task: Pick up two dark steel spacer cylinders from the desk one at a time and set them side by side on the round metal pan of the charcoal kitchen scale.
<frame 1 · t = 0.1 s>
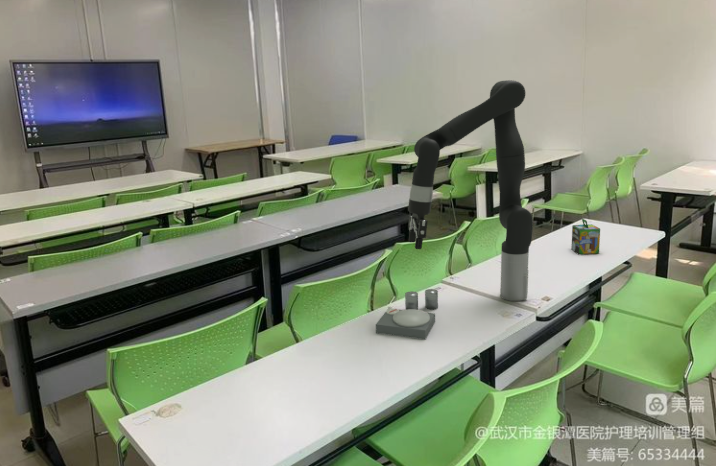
hand: (414, 245, 181), 22 cm above the table, tool pointing down, fingers open, 8 cm apart
spacer b: (431, 307, 185), on the table
colorful box with handle: (584, 251, 237), on the table
scale: (406, 327, 170), on the table
spacer a: (411, 309, 183), on the table
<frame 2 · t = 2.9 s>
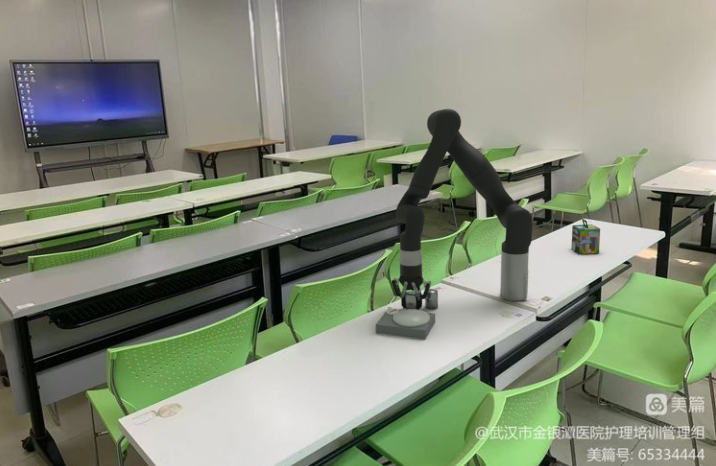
hand: (411, 308, 183), 1 cm above the table, tool pointing down, fingers closed on spacer a, 4 cm apart
spacer a: (411, 309, 183), on the table, touching gripper
everything else where it was.
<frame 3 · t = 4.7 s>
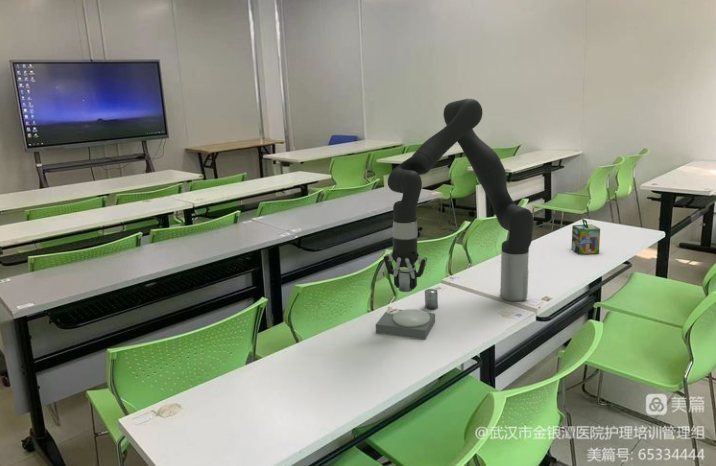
hand: (405, 287, 166), 14 cm above the table, tool pointing down, fingers closed on spacer a, 4 cm apart
spacer a: (405, 289, 166), point 13 cm above the table, touching gripper
everything else where it was.
when the fingers open (6 cm above the table, at t = 6.6 s): spacer a drops 1 cm, resting on scale.
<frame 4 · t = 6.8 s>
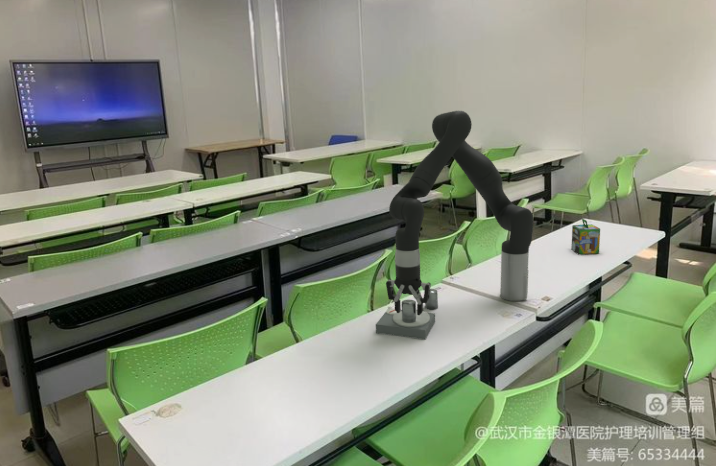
hand: (408, 313, 165), 6 cm above the table, tool pointing down, fingers open, 6 cm apart
spacer a: (409, 320, 166), point 4 cm above the table, touching scale
everything else where it was.
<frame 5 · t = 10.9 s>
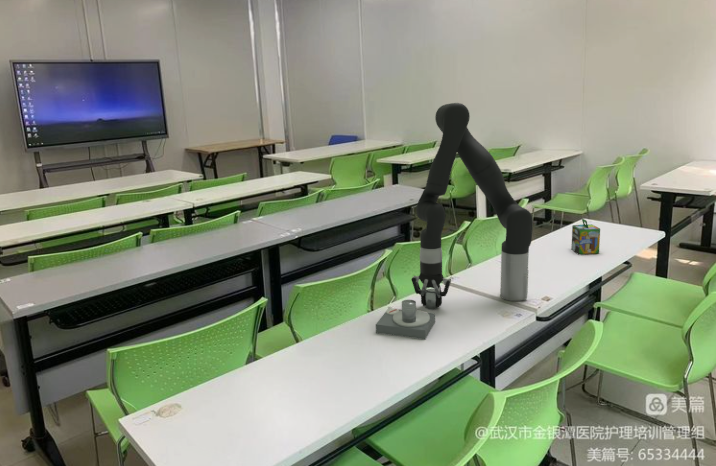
hand: (431, 305, 185), 1 cm above the table, tool pointing down, fingers closed on spacer b, 4 cm apart
spacer b: (431, 307, 185), on the table, touching gripper
everything else where it was.
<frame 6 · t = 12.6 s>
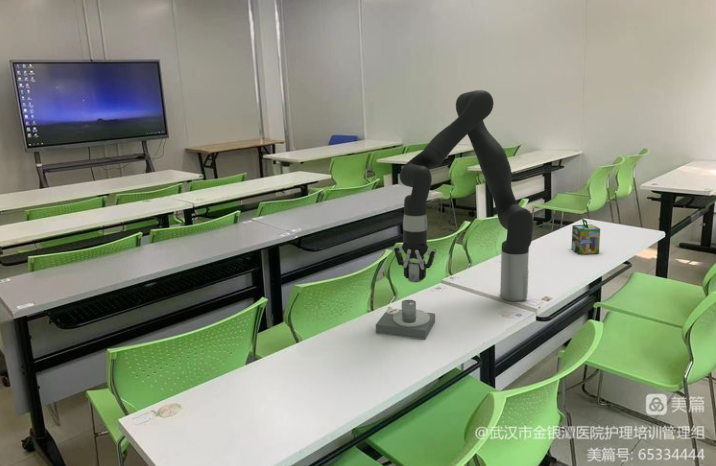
hand: (414, 278, 172), 14 cm above the table, tool pointing down, fingers closed on spacer b, 4 cm apart
spacer b: (414, 280, 173), point 14 cm above the table, touching gripper
everything else where it was.
when the fingers open (6 cm above the table, at t = 14.6 s): spacer b drops 1 cm, resting on scale.
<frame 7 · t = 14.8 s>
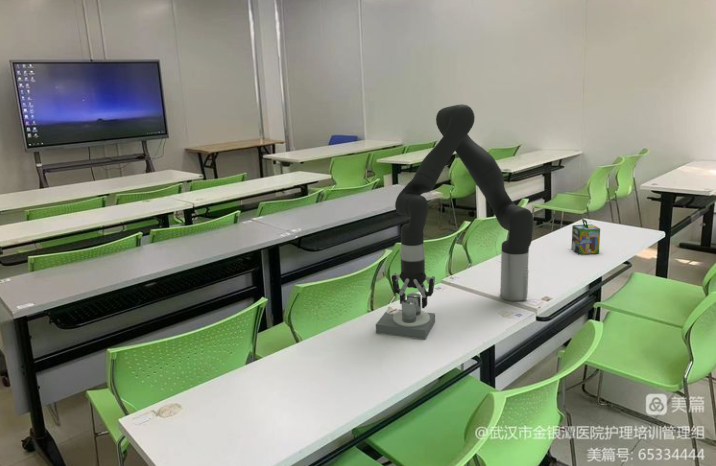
hand: (413, 306, 170), 6 cm above the table, tool pointing down, fingers open, 6 cm apart
spacer b: (414, 313, 171), point 4 cm above the table, touching scale
everything else where it was.
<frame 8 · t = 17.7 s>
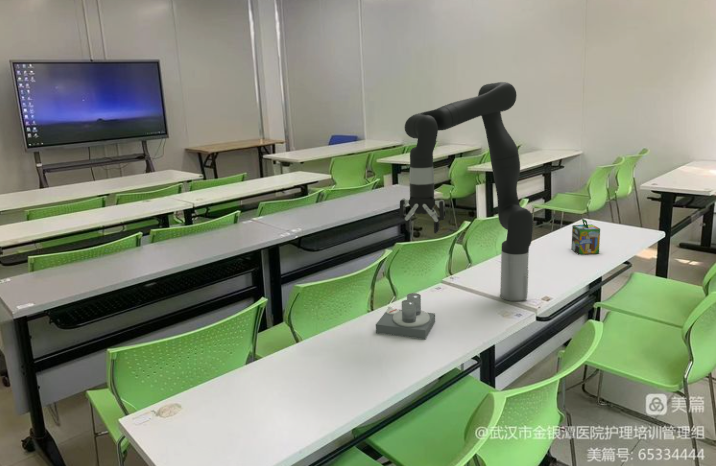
hand: (422, 232, 167), 30 cm above the table, tool pointing down, fingers open, 8 cm apart
nothing on the table moved.
at the end: spacer a inside the target area on the scale (2.8 cm from its centre), point 4.0 cm above the scale's base; spacer b inside the target area on the scale (2.8 cm from its centre), point 4.0 cm above the scale's base; spacer b tilted 0° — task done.
